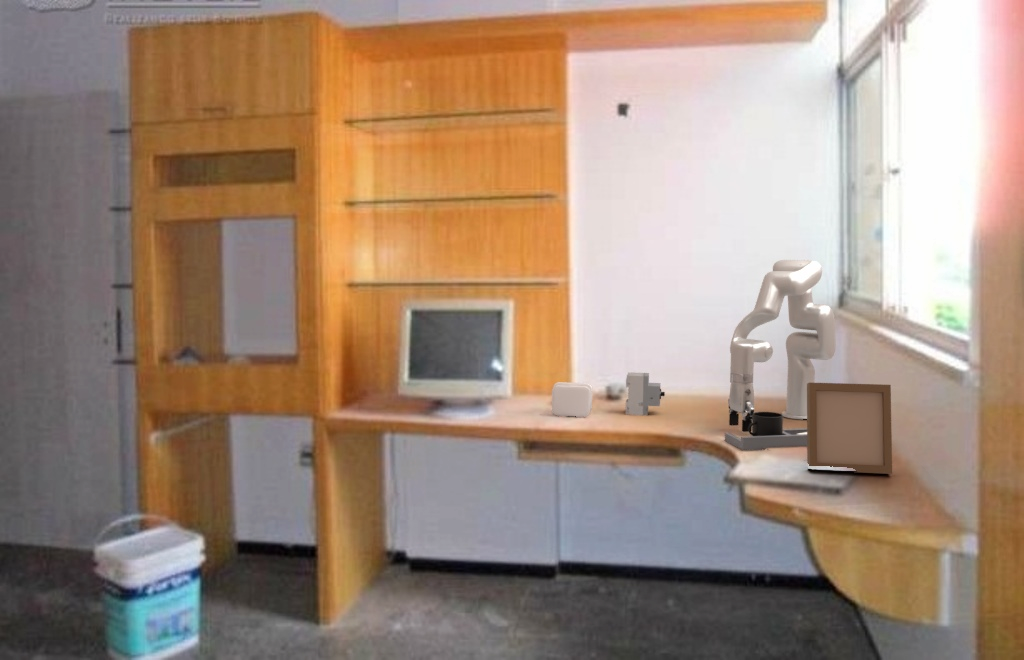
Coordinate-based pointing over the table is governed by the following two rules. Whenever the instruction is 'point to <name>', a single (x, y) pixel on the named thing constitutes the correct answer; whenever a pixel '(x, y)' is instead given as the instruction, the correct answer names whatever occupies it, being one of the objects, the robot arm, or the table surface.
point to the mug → (766, 424)
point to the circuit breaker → (641, 393)
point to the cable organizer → (571, 399)
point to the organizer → (769, 440)
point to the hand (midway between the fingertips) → (740, 428)
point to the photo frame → (849, 426)
